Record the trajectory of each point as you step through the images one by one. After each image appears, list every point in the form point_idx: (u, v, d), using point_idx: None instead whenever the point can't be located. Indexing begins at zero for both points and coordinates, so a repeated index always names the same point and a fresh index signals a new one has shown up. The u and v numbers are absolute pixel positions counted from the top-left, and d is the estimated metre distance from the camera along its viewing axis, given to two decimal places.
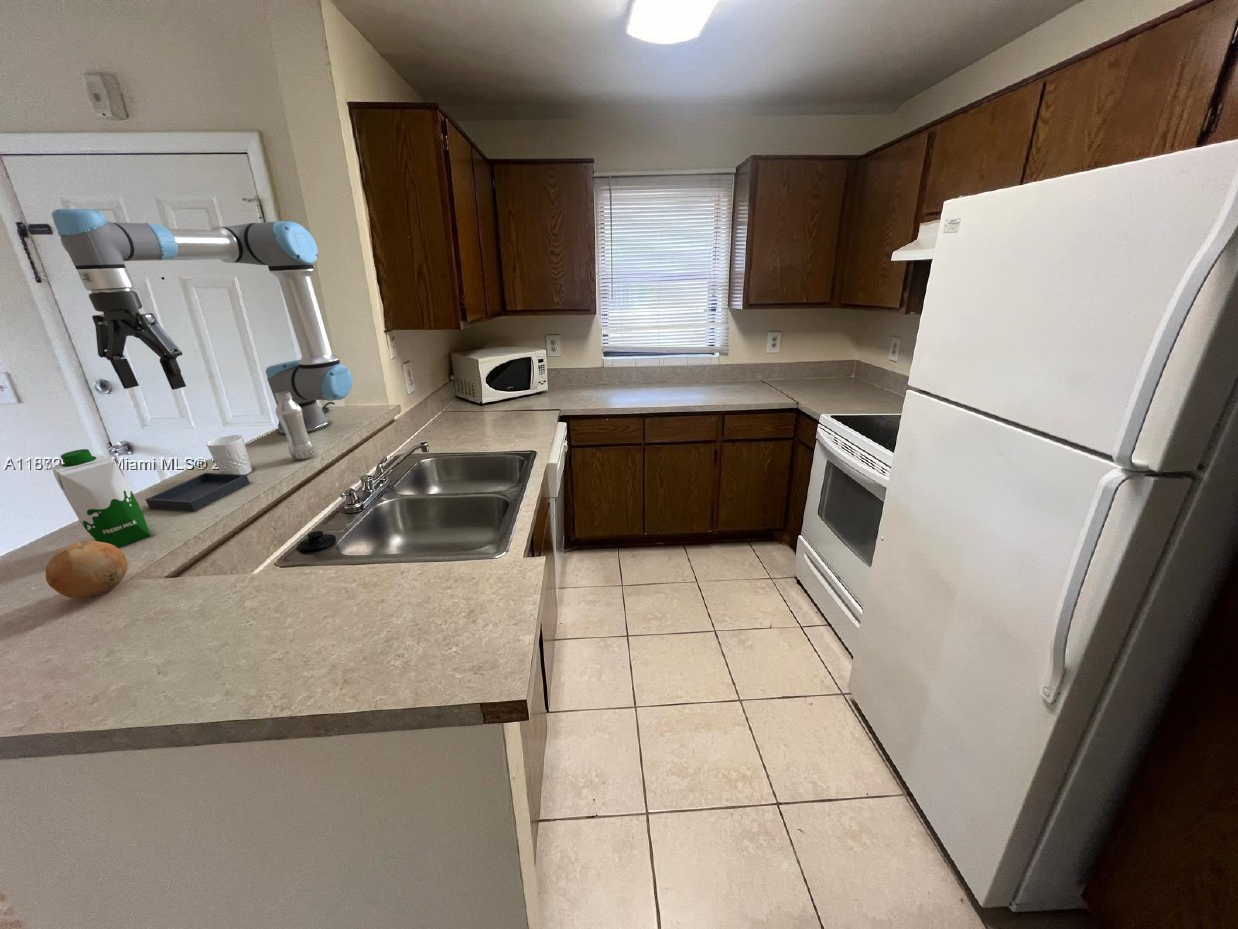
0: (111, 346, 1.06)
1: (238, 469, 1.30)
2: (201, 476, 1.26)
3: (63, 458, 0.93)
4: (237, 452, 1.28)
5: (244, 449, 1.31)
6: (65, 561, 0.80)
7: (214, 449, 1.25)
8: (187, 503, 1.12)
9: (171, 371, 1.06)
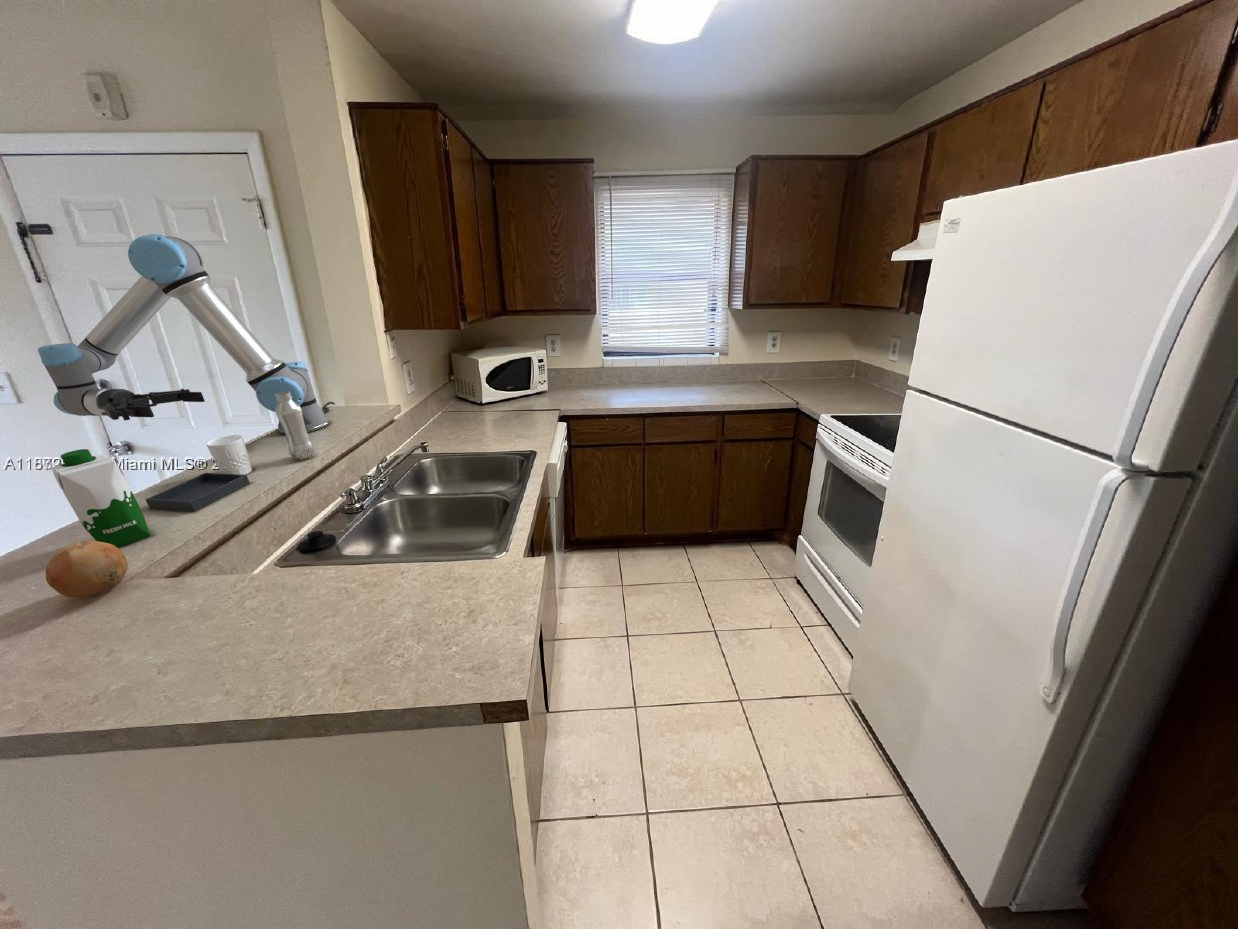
0: None
1: (238, 469, 1.30)
2: (201, 476, 1.26)
3: (63, 458, 0.93)
4: (237, 452, 1.28)
5: (244, 449, 1.31)
6: (65, 561, 0.80)
7: (214, 449, 1.25)
8: (187, 503, 1.12)
9: None
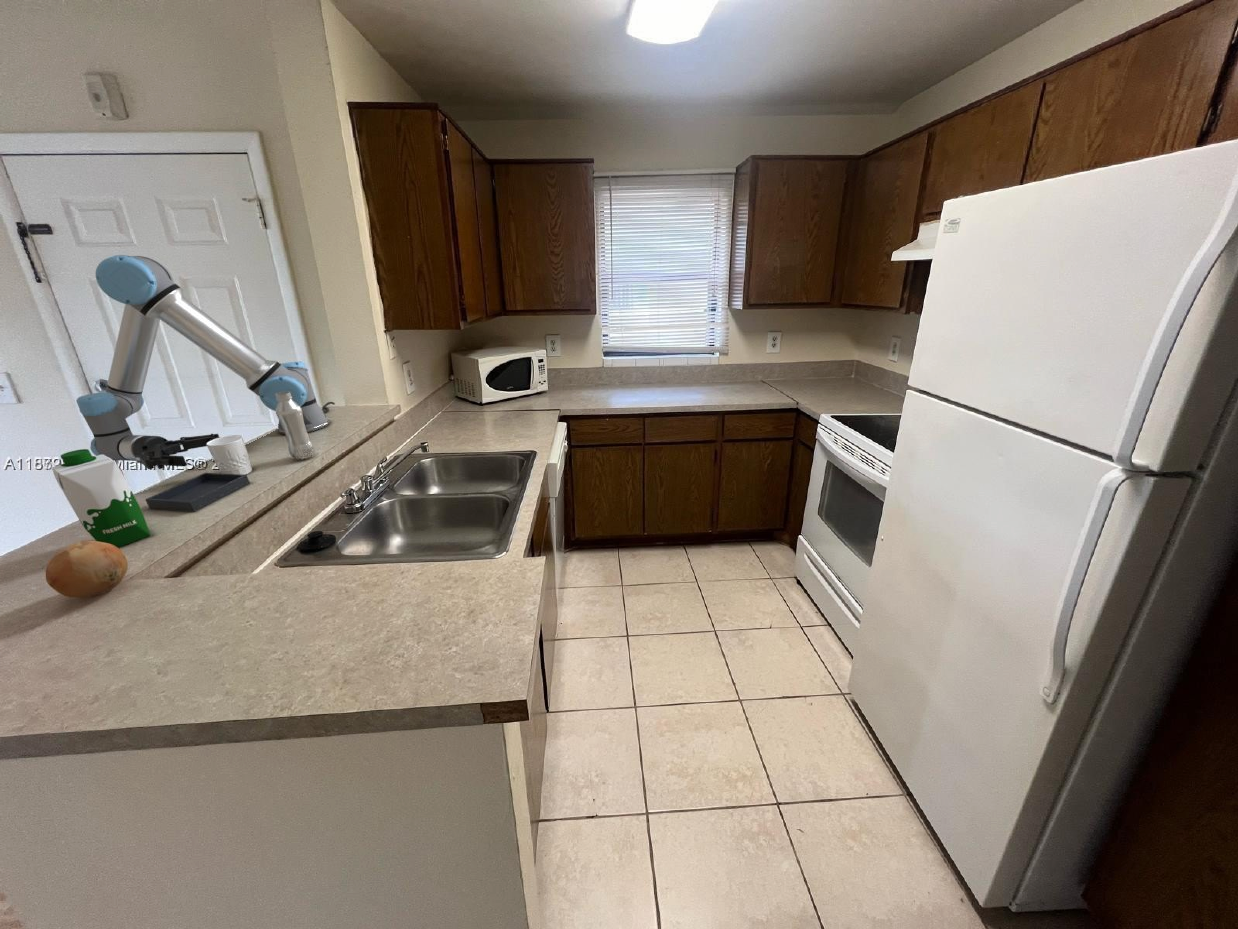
0: None
1: (238, 469, 1.30)
2: (201, 476, 1.26)
3: (63, 458, 0.93)
4: (237, 452, 1.28)
5: (244, 449, 1.31)
6: (65, 561, 0.80)
7: (214, 449, 1.25)
8: (187, 503, 1.12)
9: None
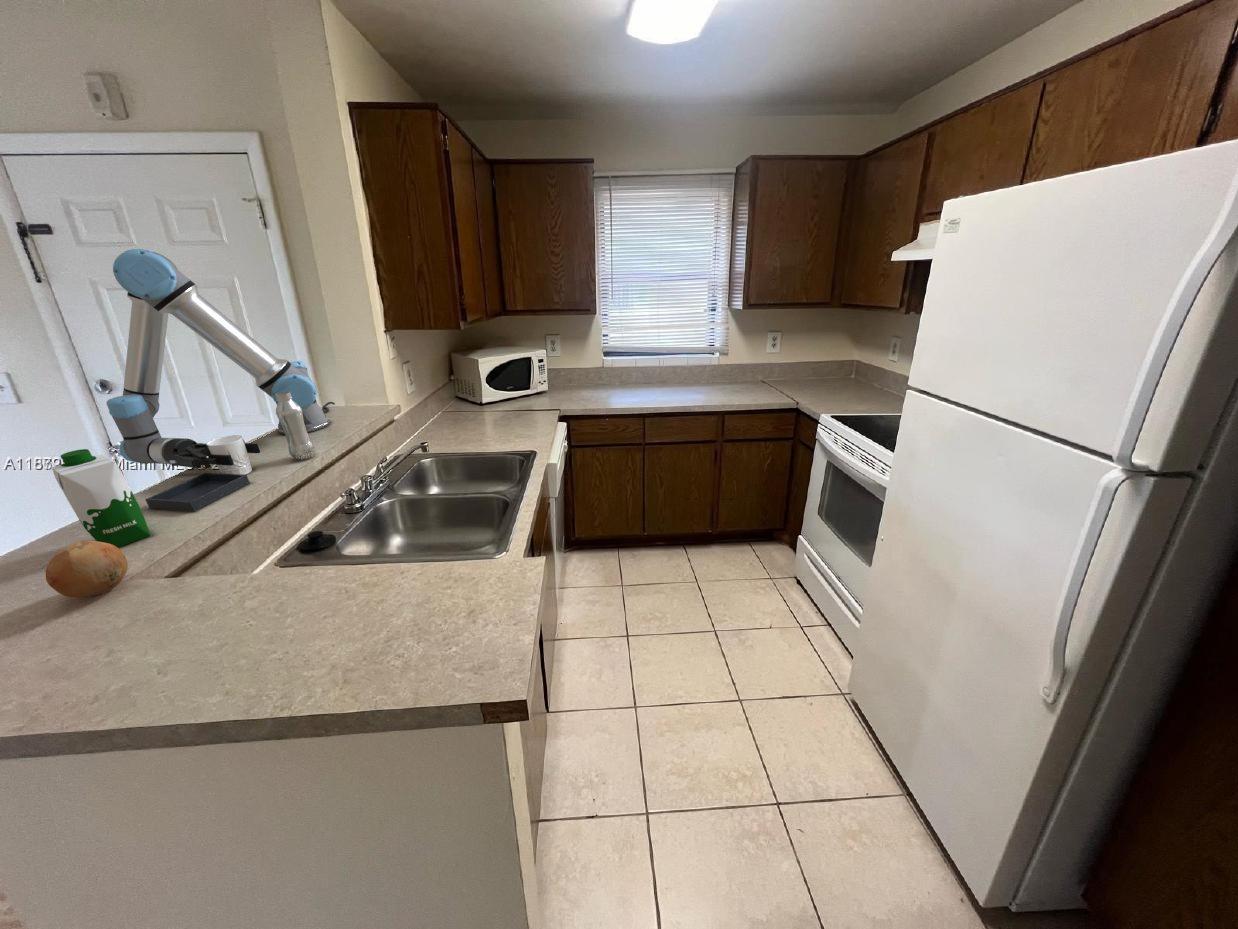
0: None
1: (238, 469, 1.30)
2: (201, 476, 1.26)
3: (63, 458, 0.93)
4: (237, 452, 1.28)
5: (244, 449, 1.31)
6: (65, 561, 0.80)
7: (214, 449, 1.25)
8: (187, 503, 1.12)
9: None
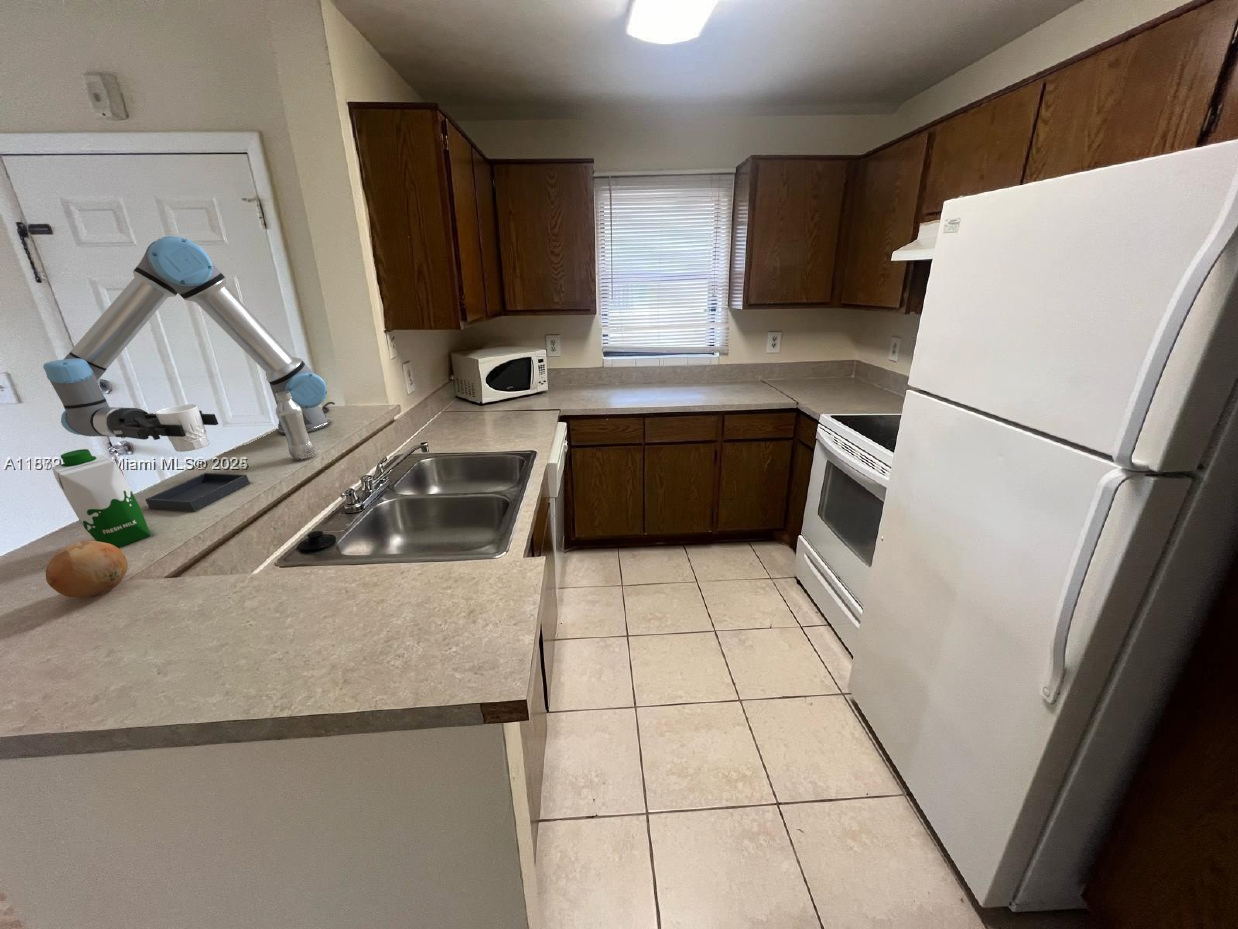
0: None
1: (192, 442, 1.16)
2: (201, 476, 1.26)
3: (63, 458, 0.93)
4: (190, 422, 1.14)
5: (199, 420, 1.17)
6: (65, 561, 0.80)
7: (163, 418, 1.12)
8: (187, 503, 1.12)
9: None
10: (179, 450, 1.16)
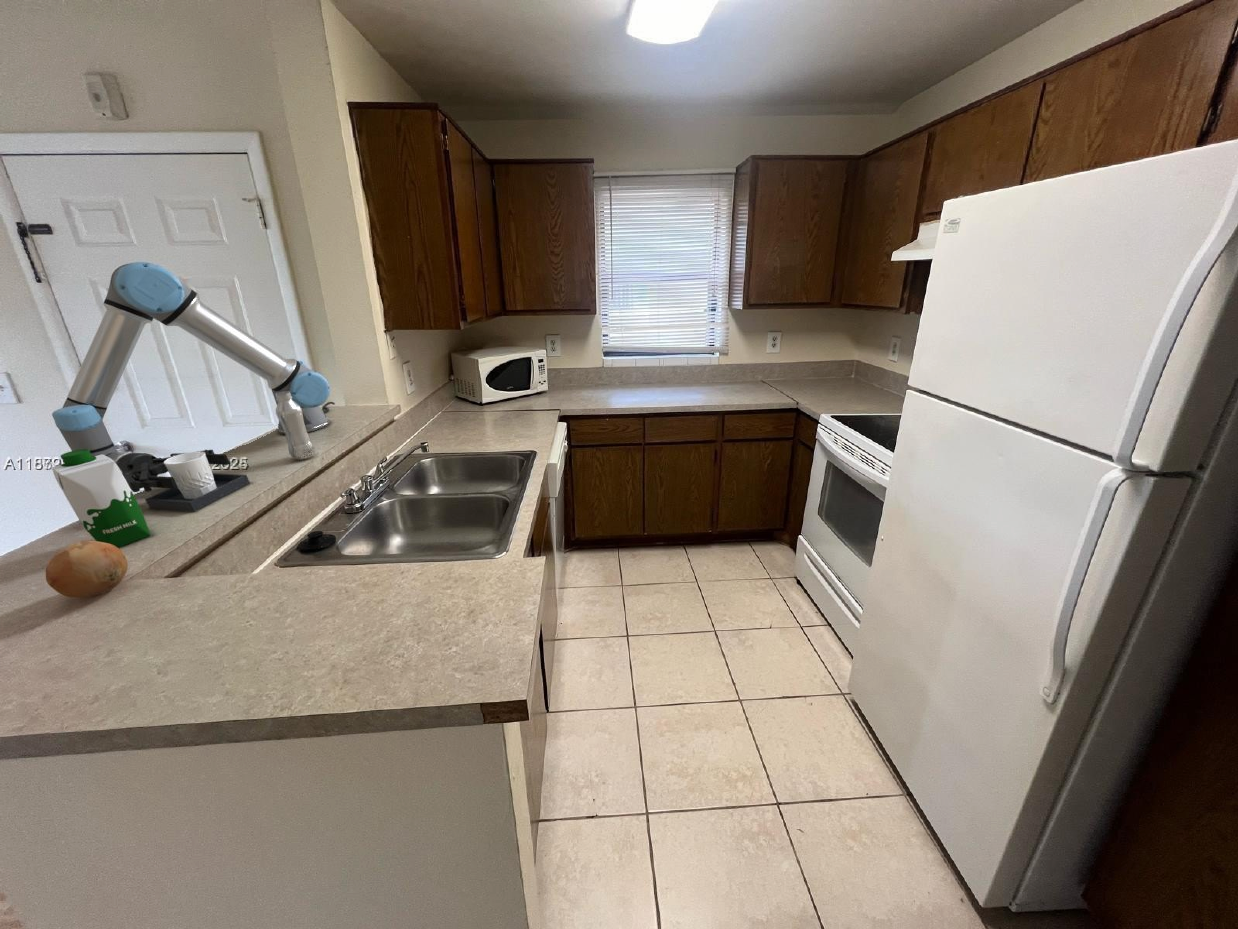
0: None
1: (200, 490, 1.17)
2: None
3: (63, 458, 0.93)
4: (198, 471, 1.16)
5: (207, 467, 1.18)
6: (65, 561, 0.80)
7: (172, 468, 1.13)
8: (187, 503, 1.12)
9: None
10: (188, 498, 1.17)
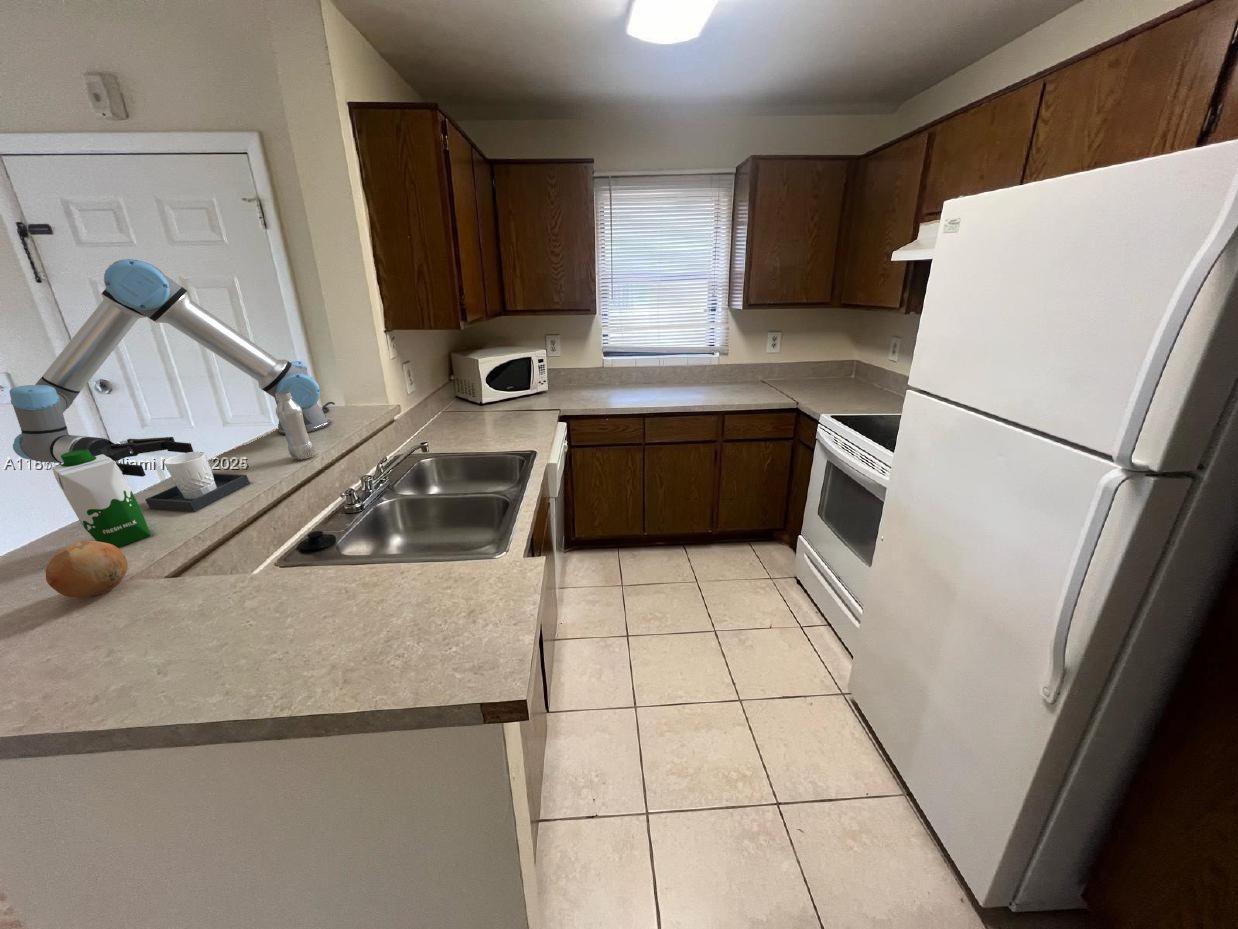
0: None
1: (200, 490, 1.17)
2: None
3: (63, 458, 0.93)
4: (198, 471, 1.16)
5: (207, 467, 1.18)
6: (65, 561, 0.80)
7: (172, 468, 1.13)
8: (187, 503, 1.12)
9: None
10: (188, 498, 1.17)
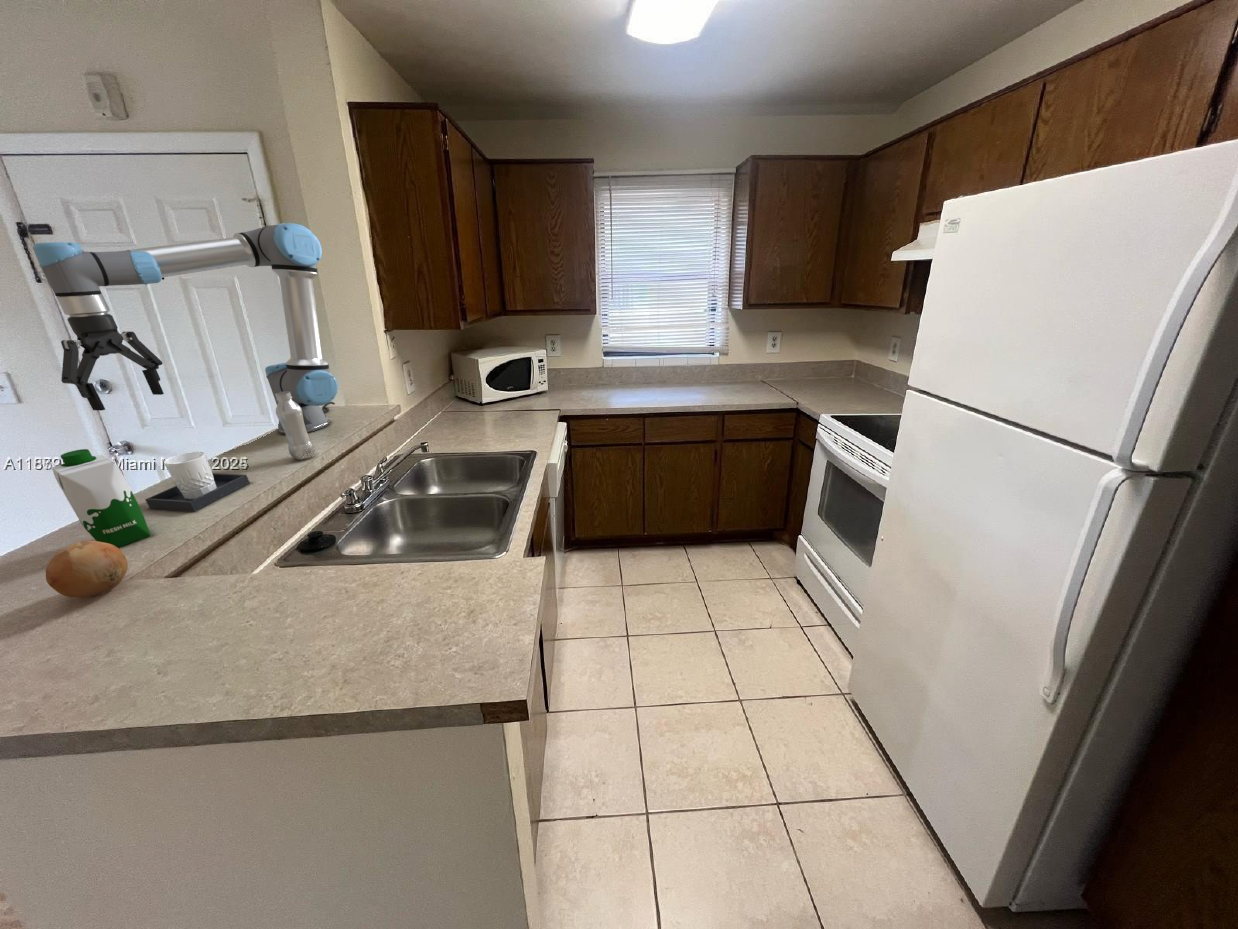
0: None
1: (200, 490, 1.17)
2: None
3: (63, 458, 0.93)
4: (198, 471, 1.16)
5: (207, 467, 1.18)
6: (65, 561, 0.80)
7: (172, 468, 1.13)
8: (187, 503, 1.12)
9: None
10: (188, 498, 1.17)
